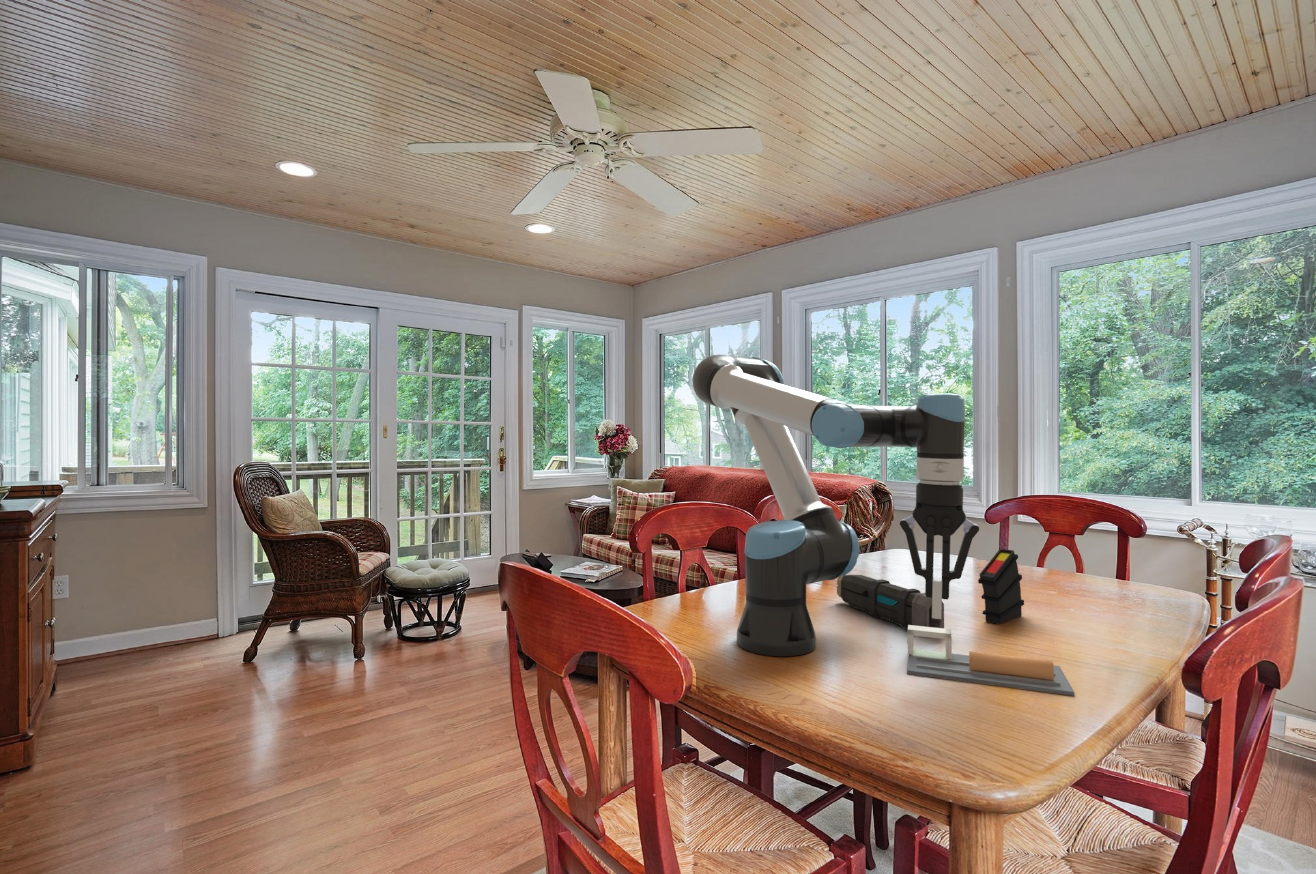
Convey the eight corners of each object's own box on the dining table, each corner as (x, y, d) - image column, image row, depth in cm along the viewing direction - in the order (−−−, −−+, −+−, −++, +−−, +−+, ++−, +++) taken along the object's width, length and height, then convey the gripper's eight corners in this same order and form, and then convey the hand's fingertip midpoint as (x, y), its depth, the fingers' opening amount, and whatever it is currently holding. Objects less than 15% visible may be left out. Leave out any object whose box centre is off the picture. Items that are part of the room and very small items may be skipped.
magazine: (1030, 606, 142) (1016, 549, 139) (1005, 642, 135) (990, 583, 131) (1012, 603, 145) (999, 547, 142) (988, 637, 138) (972, 580, 134)
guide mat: (907, 673, 107) (907, 667, 107) (909, 651, 118) (909, 646, 118) (1074, 695, 97) (1074, 689, 97) (1059, 669, 108) (1059, 663, 108)
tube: (858, 612, 155) (955, 631, 127) (837, 622, 153) (931, 643, 125) (845, 569, 155) (940, 579, 128) (824, 578, 153) (916, 590, 125)
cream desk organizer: (908, 649, 117) (908, 624, 117) (951, 654, 114) (950, 629, 114) (907, 654, 114) (907, 629, 114) (951, 659, 111) (951, 634, 111)
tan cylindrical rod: (969, 675, 106) (970, 660, 105) (968, 661, 108) (969, 647, 107) (1053, 685, 101) (1054, 671, 100) (1050, 671, 104) (1051, 656, 102)
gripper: (898, 482, 109) (895, 617, 110) (982, 486, 104) (979, 628, 104) (900, 479, 116) (898, 606, 116) (980, 482, 111) (976, 615, 111)
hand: (936, 616), depth 110 cm, fingers closed
